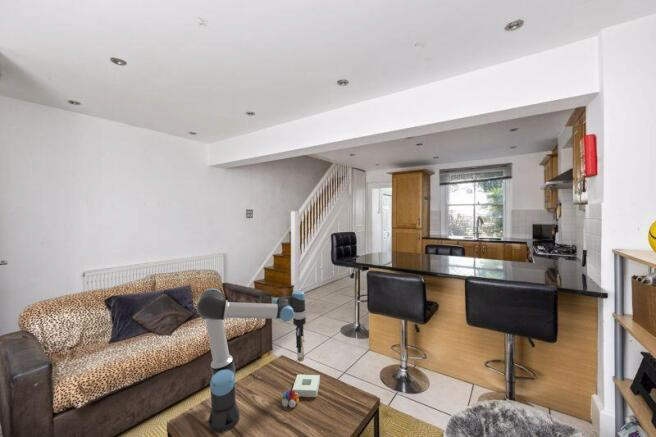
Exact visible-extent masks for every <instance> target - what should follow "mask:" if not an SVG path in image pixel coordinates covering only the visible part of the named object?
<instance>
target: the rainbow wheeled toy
mask: <svg viewBox="0 0 656 437" xmlns="http://www.w3.org/2000/svg"><path fill="white" fill-rule="evenodd" d="M294 392H295V390H293V392H292V390H291V389H288V390H287V391H286V390H285V391H284V392H283V393H282V395H283V396H282V397H281V405H282V406H283V407H288V406H289V408H295V407H296V405H297V404H298V403H300V397H299V394H298V393H294Z"/></svg>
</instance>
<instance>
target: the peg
mask: <svg viewBox="0 0 656 437" xmlns="http://www.w3.org/2000/svg"><path fill="white" fill-rule="evenodd" d="M304 343H305V340H304V339H303V336H302V357H298V351H297V350H296V353H297V354H296V355H297V362H304V361H305V346H304Z"/></svg>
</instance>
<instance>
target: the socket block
mask: <svg viewBox="0 0 656 437" xmlns="http://www.w3.org/2000/svg"><path fill="white" fill-rule="evenodd" d="M295 378H296V379H295V381H294V384H293V387H292V390H291V393H292V392H293V390H295V392H294V393H298V394H299V398H301V397H302V398H304V397H306V398H317V397H318V393H319V387H320V383H321V378H320V374H297V375H296V377H295Z"/></svg>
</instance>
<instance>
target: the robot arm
mask: <svg viewBox="0 0 656 437" xmlns="http://www.w3.org/2000/svg"><path fill="white" fill-rule="evenodd" d="M305 294H306V293H305V292H304V291H302V290H296V291H293V292H292V294H291V295H290V296H289V295H288V296H281V297H275V298H273V299H272V300H271V303H262V302H261V303H260V302H258V303H257V302H256V303H255V302H237V301H236V302H235V301H234V302H232V301H231V302H230V301H228V300H227V299H224V296H223V293H222V292H221V291H220V290H219V289H218V288H208V289H206V290H204V291H203V292H202V293H201V295H200V297H199V300H198V302H197V304H196V305H197V306H196V311H197V313H198V315H199V316H201V319H202V320H204V321H205V325H206V329H207V330H206V331H207V336H208V341H209V346H210V352H211V358H212V361H211V363H210V369H211V374H212V376H211V378H210V383H209V388H210V405H211V410H210V413H209V417H208V420H207V422H208V425H207V426H208V429H209V430H210V431H212V432H214V433H223V432H227V431H229V430H231V429H232V428H234V427H235V426H236V425H237V424H238V423H239V421H240V418H241V414H240V413H241V412H240V409H239V406H238V404H237V399H236V398H237V397H236V365H235V362H234V358H233V356H232V355H231V354H230V352H229V347H228V340H227V335H226V329H225V324H224V321H225V320H226V319H277V320H278V319H279V320H280V319H281V320H282V321H283V322H290V321H291V320H292V321H293V323H292V324H293V325H294V326H296V327H295V331H296V332H295V338H296V345H295V348H296V352H297V351H298V357H302V336H303V340H304V339H305V338H304V337H305V336H304V333H305V332H304V326H305V324H306V323H307V322H306V321H307V320H306V319H307V318H306V314H307V311H306V296H305Z"/></svg>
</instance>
